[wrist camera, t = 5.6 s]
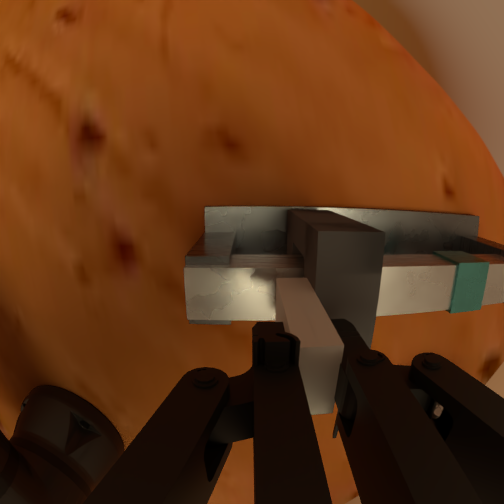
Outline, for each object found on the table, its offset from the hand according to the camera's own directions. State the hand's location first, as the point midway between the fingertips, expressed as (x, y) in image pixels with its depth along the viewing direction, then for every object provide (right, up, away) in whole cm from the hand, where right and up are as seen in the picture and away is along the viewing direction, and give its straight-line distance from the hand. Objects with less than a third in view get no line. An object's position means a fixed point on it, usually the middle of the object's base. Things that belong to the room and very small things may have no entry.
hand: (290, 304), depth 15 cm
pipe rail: (+7, +2, +11) cm, 13 cm away
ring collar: (+2, +2, +8) cm, 8 cm away
